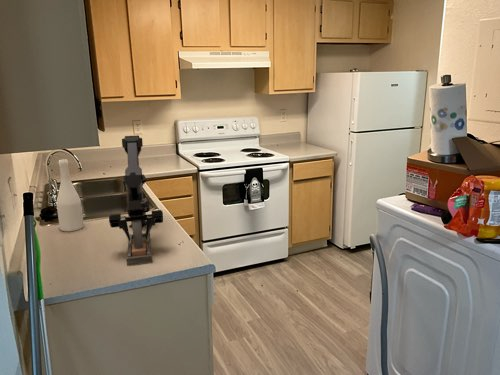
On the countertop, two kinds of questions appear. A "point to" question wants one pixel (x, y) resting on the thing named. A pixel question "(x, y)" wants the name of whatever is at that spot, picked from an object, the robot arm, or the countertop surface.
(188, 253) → the countertop surface
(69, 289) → the countertop surface
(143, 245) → the carriage
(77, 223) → the wine bottle
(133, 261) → the guide rail
